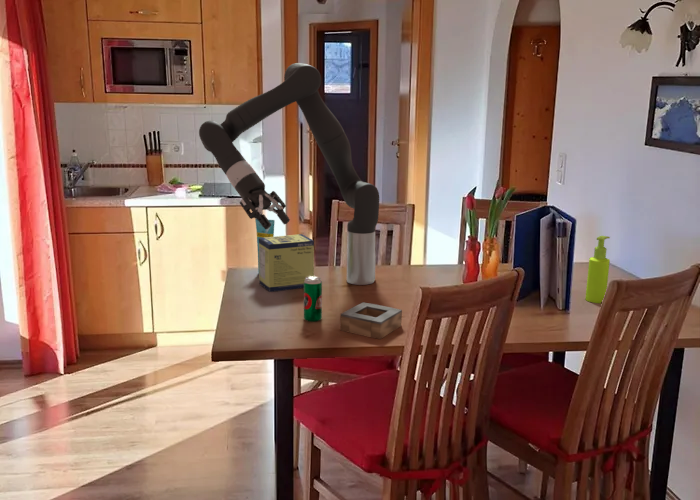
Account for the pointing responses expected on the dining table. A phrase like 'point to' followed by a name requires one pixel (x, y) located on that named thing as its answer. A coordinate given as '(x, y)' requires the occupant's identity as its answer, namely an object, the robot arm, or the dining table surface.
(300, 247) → the protein box
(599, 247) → the soap dispenser
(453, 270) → the dining table surface
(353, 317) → the square holder
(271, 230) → the tube
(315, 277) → the soda can
